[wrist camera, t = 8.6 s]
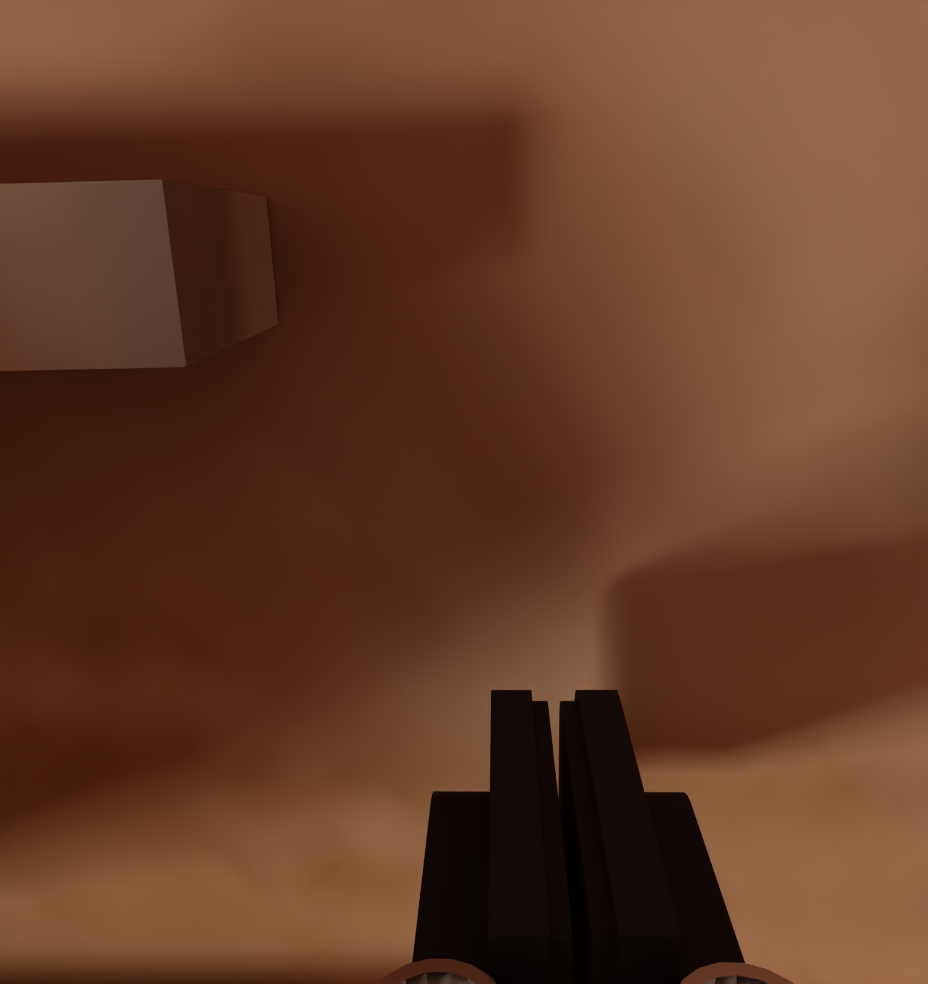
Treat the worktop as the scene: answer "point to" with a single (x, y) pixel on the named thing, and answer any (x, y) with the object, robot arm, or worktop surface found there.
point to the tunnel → (130, 273)
